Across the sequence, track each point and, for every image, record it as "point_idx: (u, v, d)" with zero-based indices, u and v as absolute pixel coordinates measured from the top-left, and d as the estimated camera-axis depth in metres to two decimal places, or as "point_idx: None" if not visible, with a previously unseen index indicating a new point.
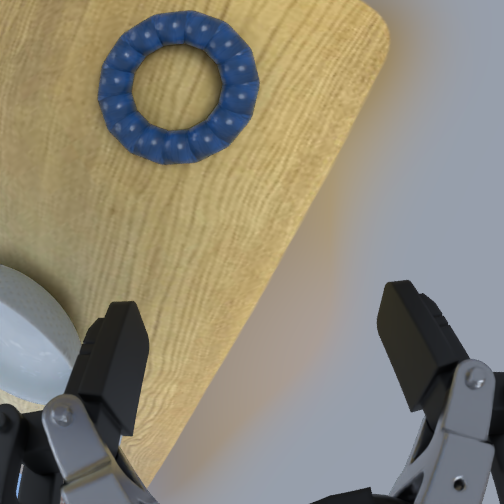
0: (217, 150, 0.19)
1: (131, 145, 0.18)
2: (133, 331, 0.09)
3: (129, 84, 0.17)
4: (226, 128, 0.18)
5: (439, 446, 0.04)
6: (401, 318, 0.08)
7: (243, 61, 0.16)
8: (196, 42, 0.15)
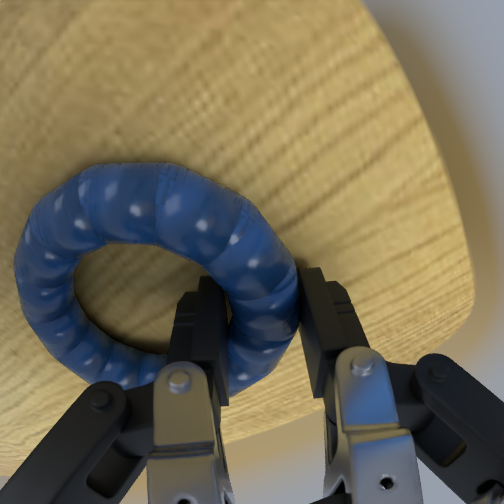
0: None
1: (53, 354, 0.10)
2: (223, 303, 0.10)
3: (70, 273, 0.09)
4: None
5: (347, 452, 0.05)
6: (304, 303, 0.09)
7: (276, 347, 0.10)
8: (221, 285, 0.09)
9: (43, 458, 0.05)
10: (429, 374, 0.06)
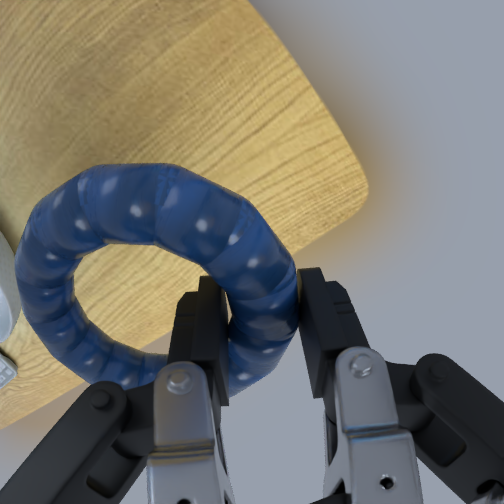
0: None
1: (53, 354, 0.10)
2: (223, 303, 0.10)
3: (70, 274, 0.09)
4: None
5: (346, 452, 0.05)
6: (304, 303, 0.09)
7: (276, 347, 0.10)
8: (221, 285, 0.09)
9: (43, 458, 0.05)
10: (429, 374, 0.06)
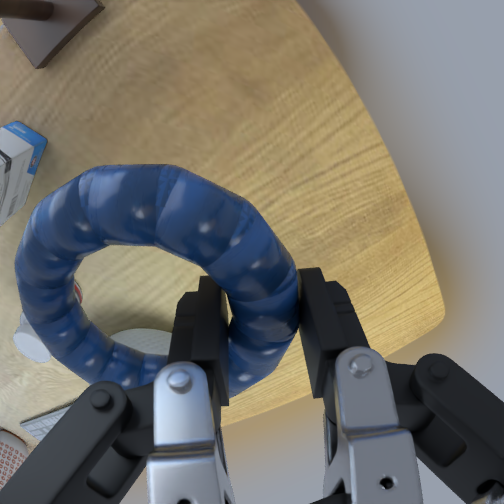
0: None
1: (54, 354, 0.10)
2: (224, 304, 0.10)
3: (71, 274, 0.09)
4: None
5: (346, 452, 0.05)
6: (304, 303, 0.09)
7: (276, 348, 0.10)
8: (221, 287, 0.09)
9: (43, 458, 0.05)
10: (429, 374, 0.06)
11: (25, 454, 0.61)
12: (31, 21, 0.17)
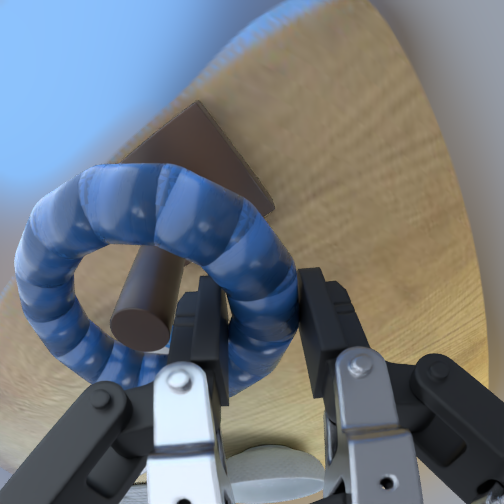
0: None
1: (53, 353, 0.10)
2: (223, 303, 0.10)
3: (70, 273, 0.09)
4: None
5: (347, 452, 0.05)
6: (304, 303, 0.09)
7: (276, 348, 0.10)
8: (221, 286, 0.09)
9: (43, 458, 0.05)
10: (429, 374, 0.06)
11: None
12: None
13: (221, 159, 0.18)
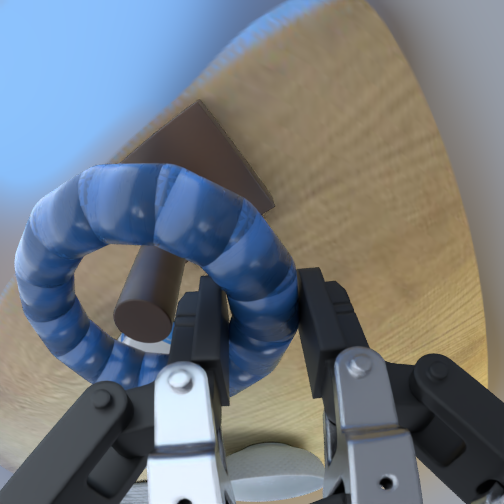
0: None
1: (53, 353, 0.10)
2: (224, 303, 0.10)
3: (70, 273, 0.09)
4: None
5: (346, 452, 0.05)
6: (303, 303, 0.09)
7: (275, 348, 0.10)
8: (220, 286, 0.09)
9: (44, 458, 0.05)
10: (428, 374, 0.06)
11: None
12: None
13: (222, 157, 0.18)
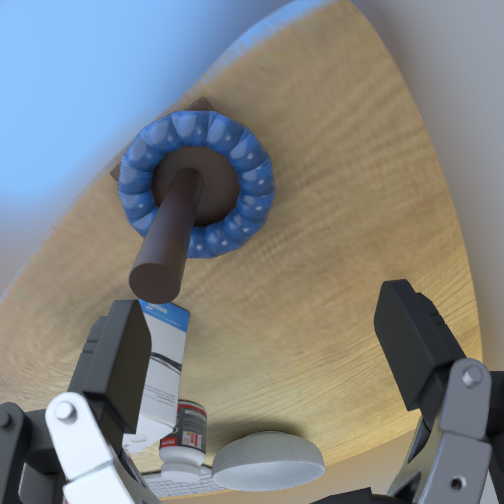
0: None
1: (132, 220, 0.20)
2: (137, 330, 0.09)
3: (156, 164, 0.19)
4: (218, 248, 0.21)
5: (436, 446, 0.04)
6: (398, 317, 0.09)
7: (263, 204, 0.20)
8: (235, 166, 0.19)
9: None
10: None
11: None
12: (167, 190, 0.21)
13: None
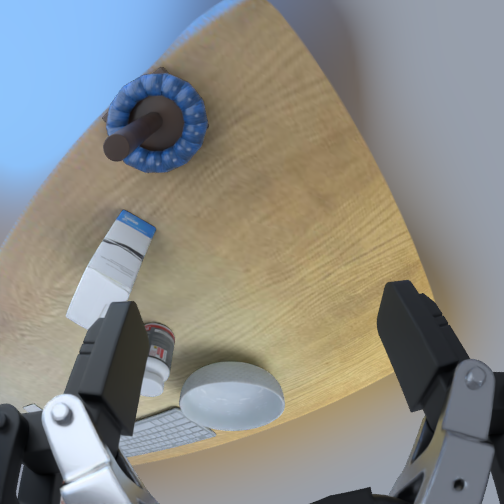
0: (159, 172, 0.30)
1: None
2: (133, 331, 0.09)
3: (131, 108, 0.27)
4: (170, 163, 0.30)
5: (439, 446, 0.04)
6: (401, 318, 0.08)
7: (198, 130, 0.28)
8: (179, 105, 0.27)
9: None
10: None
11: None
12: None
13: None
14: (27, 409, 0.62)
